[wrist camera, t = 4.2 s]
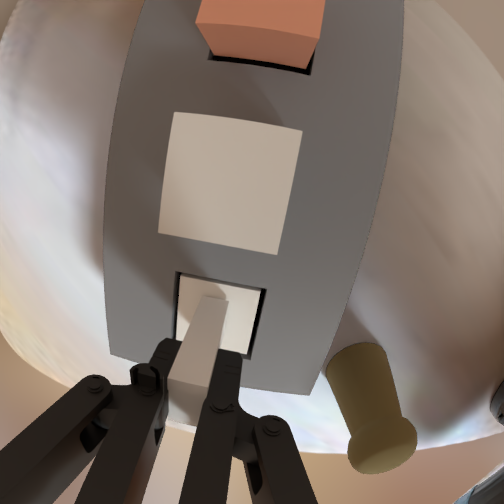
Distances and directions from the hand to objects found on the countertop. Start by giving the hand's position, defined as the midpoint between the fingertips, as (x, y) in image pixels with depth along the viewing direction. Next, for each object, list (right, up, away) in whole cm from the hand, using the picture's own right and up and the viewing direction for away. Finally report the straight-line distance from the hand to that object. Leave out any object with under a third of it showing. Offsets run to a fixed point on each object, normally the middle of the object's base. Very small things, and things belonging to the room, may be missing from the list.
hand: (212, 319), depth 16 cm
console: (+2, +9, +3) cm, 10 cm away
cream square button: (0, +1, +4) cm, 4 cm away
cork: (+12, -7, +8) cm, 16 cm away
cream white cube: (+2, +7, -3) cm, 8 cm away
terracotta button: (+3, +15, -5) cm, 16 cm away
